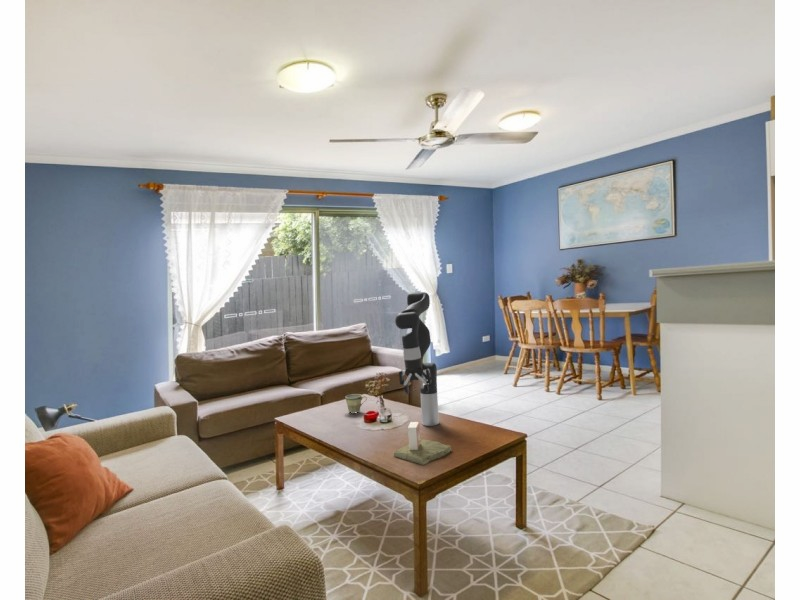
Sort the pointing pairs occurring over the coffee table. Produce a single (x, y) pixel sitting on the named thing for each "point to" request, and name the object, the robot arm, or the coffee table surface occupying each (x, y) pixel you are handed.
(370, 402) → the coffee table surface
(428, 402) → the robot arm
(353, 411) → the ceramic cup
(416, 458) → the decorative tile
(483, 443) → the coffee table surface
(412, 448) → the white rectangular block
